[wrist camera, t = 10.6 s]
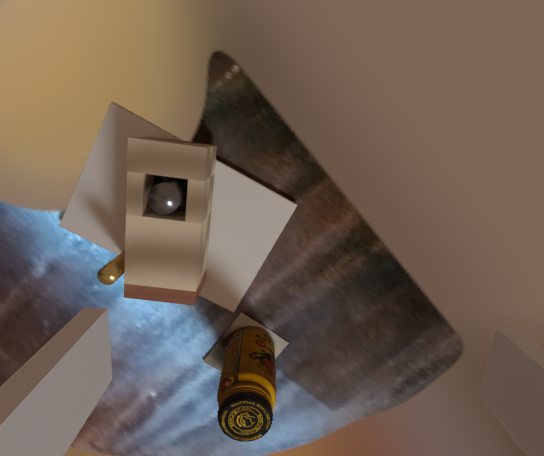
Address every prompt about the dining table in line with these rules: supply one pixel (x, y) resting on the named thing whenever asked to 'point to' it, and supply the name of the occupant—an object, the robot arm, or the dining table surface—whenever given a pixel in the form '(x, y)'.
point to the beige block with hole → (167, 220)
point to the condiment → (246, 378)
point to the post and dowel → (161, 201)
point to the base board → (224, 213)
